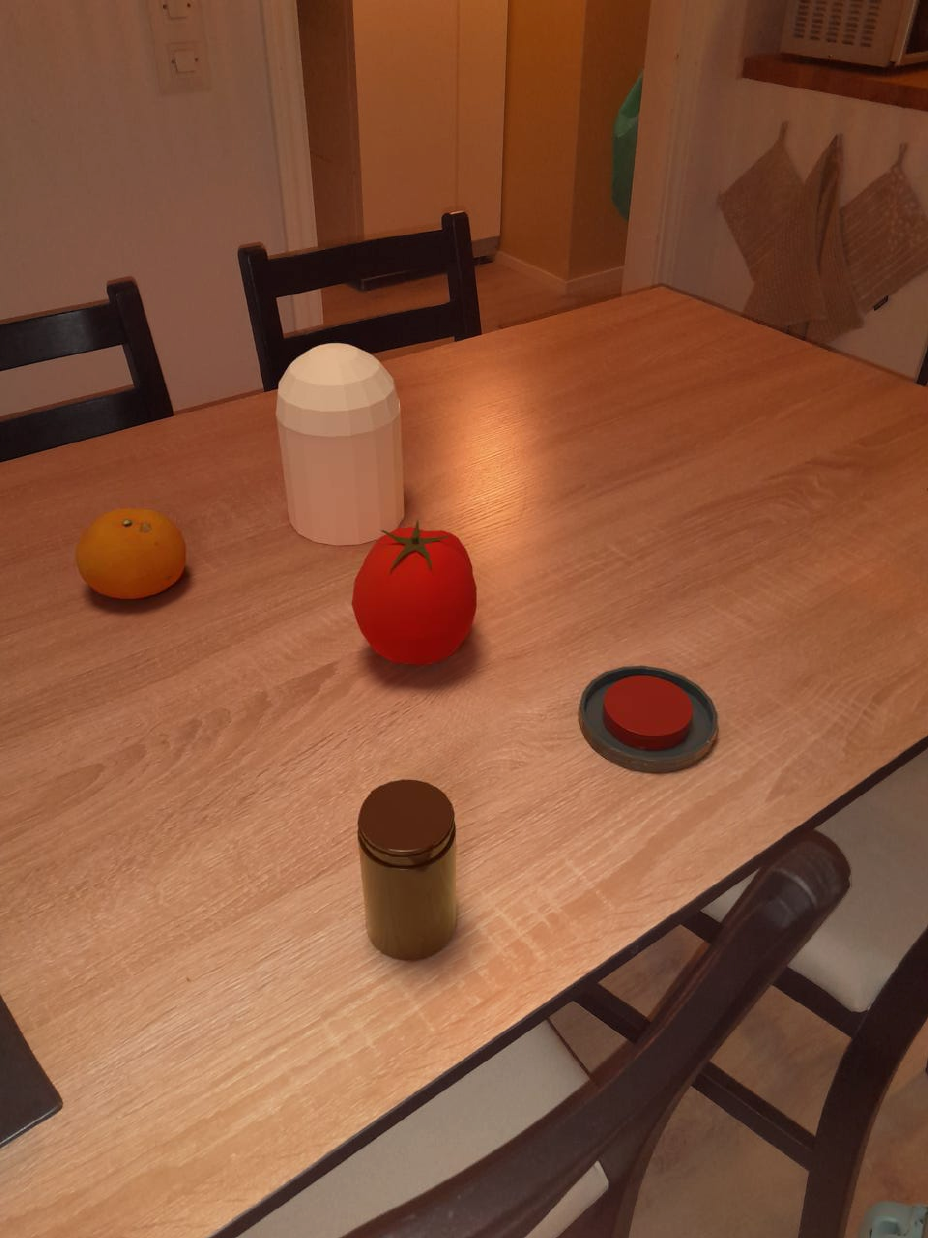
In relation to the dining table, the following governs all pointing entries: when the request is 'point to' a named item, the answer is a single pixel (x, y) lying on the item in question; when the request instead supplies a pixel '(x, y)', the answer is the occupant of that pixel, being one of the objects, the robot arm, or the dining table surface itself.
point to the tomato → (415, 595)
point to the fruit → (131, 553)
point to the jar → (408, 868)
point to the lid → (647, 713)
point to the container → (341, 446)
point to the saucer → (646, 760)
